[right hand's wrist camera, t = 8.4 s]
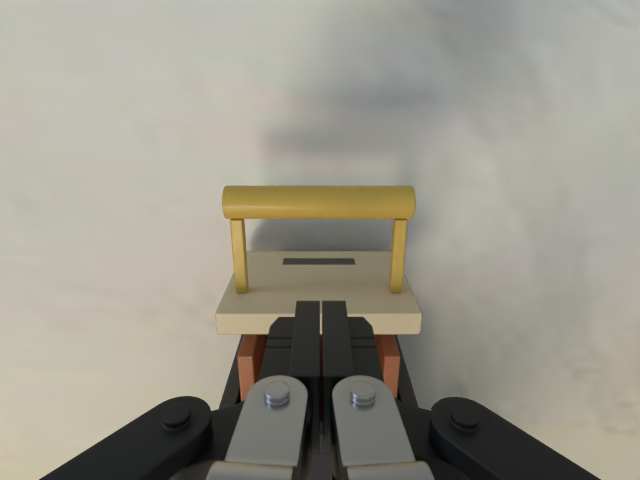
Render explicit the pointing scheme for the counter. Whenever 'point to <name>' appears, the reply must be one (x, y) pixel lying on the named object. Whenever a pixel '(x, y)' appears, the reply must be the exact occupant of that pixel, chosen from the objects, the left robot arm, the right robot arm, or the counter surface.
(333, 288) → the drawer
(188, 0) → the counter surface
